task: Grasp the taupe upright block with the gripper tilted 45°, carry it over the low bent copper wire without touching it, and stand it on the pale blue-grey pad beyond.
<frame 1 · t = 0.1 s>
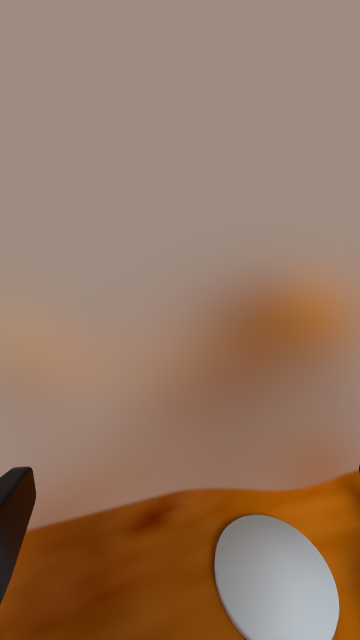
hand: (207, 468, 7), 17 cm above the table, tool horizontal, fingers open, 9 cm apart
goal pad: (271, 578, 19), on the table
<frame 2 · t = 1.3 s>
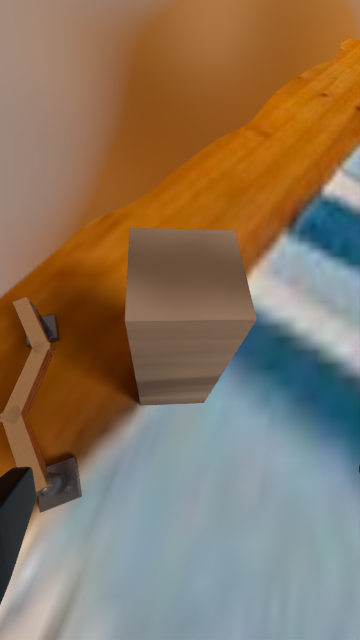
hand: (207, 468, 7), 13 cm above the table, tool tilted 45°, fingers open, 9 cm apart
taupe upright block: (171, 373, 22), on the table
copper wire: (50, 397, 21), on the table
when the fingers open (9 cm above the table, at t = 9.9 s): taupe upright block drops 1 cm, resting on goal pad.
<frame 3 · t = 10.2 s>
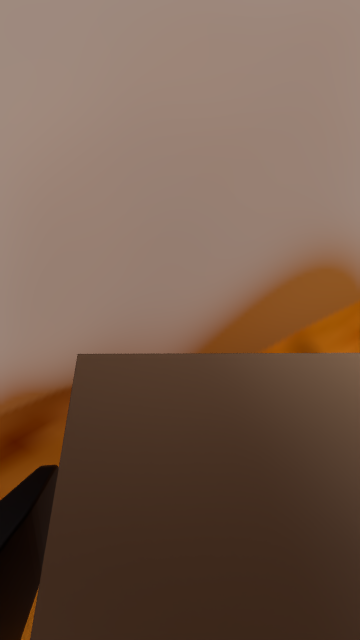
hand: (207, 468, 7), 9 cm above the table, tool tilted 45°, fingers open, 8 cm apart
taupe upright block: (183, 506, 13), point 1 cm above the table, touching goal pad
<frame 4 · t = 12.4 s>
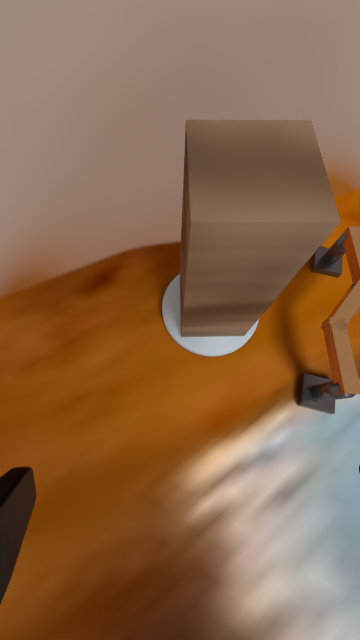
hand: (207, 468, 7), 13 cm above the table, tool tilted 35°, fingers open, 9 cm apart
taupe upright block: (210, 307, 22), point 1 cm above the table, touching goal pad
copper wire: (320, 322, 22), on the table
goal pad: (209, 310, 23), on the table
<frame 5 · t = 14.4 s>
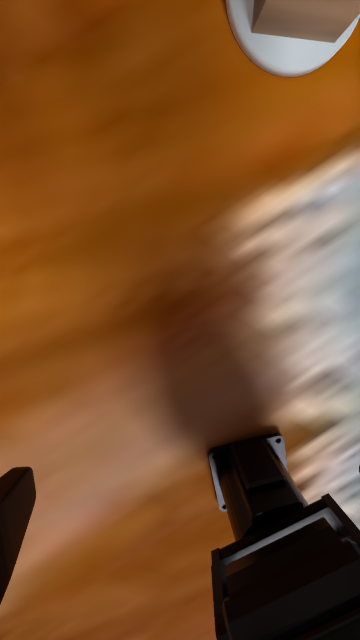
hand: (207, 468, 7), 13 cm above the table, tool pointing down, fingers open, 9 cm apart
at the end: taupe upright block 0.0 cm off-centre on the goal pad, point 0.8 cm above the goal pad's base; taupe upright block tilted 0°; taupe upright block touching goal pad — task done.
